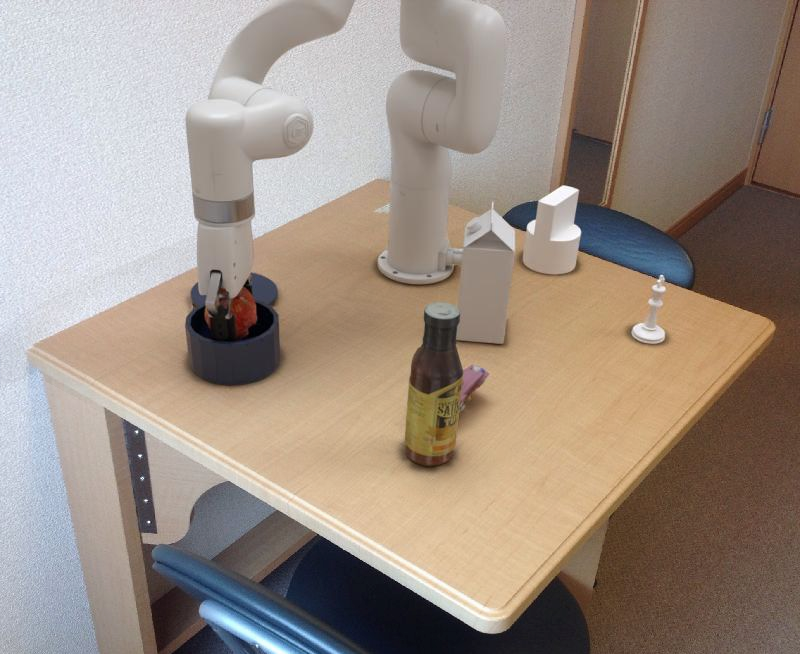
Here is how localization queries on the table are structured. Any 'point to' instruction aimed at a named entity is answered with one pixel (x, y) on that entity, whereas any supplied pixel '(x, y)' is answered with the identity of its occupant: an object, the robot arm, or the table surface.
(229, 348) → the bowl
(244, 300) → the pomegranate
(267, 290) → the lid
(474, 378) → the video game controller
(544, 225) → the cylinder with rectangular tab
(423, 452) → the sauce bottle
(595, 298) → the table surface
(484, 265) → the milk carton
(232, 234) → the robot arm
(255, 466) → the table surface
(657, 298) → the chess piece
